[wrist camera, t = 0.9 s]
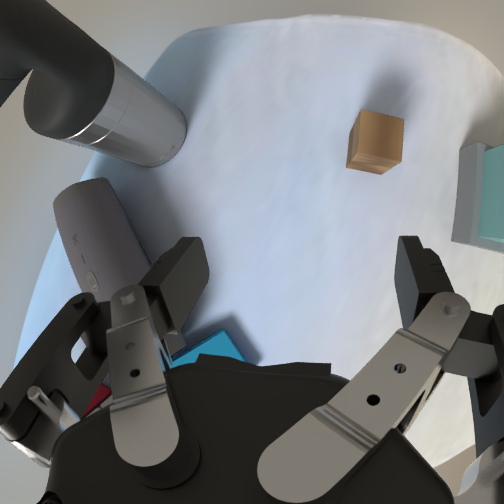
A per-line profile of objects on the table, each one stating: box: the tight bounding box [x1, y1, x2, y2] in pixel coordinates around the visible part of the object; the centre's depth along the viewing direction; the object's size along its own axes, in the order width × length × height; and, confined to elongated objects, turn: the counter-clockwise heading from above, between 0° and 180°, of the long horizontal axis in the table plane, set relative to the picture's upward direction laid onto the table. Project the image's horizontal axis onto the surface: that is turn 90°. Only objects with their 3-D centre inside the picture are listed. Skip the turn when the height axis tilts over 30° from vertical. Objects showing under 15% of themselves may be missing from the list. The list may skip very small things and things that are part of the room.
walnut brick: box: [346, 110, 404, 175], centre depth 31 cm, size 4×4×8 cm
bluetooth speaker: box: [53, 178, 186, 356], centre depth 36 cm, size 23×9×10 cm, turn 28°
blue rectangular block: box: [172, 329, 246, 367], centre depth 40 cm, size 7×7×18 cm
